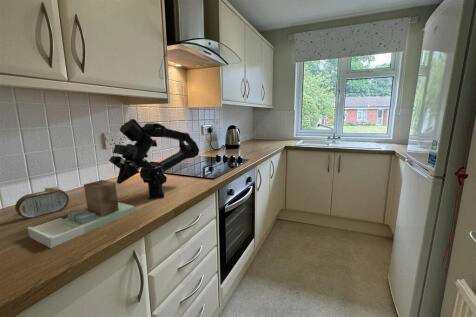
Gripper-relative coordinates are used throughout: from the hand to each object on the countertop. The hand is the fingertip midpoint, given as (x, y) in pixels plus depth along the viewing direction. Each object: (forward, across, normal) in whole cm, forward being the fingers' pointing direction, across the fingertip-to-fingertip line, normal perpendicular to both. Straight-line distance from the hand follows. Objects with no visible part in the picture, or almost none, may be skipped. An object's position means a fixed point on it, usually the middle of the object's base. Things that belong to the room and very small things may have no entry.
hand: (118, 183), depth 86 cm
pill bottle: (+14, -28, 0) cm, 31 cm away
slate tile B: (+15, -2, -4) cm, 16 cm away
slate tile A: (+16, +2, -4) cm, 16 cm away
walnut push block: (+10, 0, +1) cm, 11 cm away
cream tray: (+22, 0, -7) cm, 23 cm away
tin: (+18, -23, -3) cm, 29 cm away
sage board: (+13, 0, +2) cm, 13 cm away
